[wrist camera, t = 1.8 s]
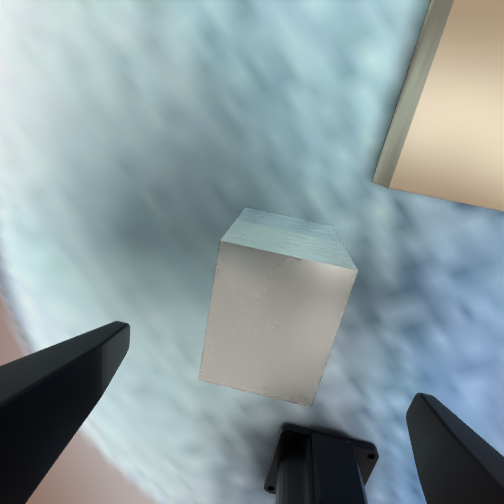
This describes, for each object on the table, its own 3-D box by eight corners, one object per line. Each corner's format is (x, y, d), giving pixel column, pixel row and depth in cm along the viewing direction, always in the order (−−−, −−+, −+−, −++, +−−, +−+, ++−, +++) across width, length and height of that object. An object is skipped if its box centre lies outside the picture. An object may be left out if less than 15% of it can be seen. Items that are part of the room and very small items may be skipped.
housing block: (304, 322, 17) (311, 407, 11) (227, 304, 17) (198, 379, 12) (332, 225, 15) (358, 270, 9) (245, 206, 15) (219, 240, 10)
